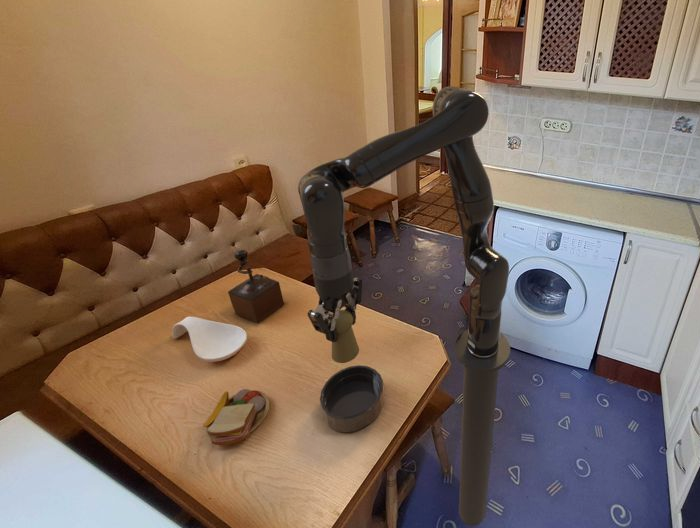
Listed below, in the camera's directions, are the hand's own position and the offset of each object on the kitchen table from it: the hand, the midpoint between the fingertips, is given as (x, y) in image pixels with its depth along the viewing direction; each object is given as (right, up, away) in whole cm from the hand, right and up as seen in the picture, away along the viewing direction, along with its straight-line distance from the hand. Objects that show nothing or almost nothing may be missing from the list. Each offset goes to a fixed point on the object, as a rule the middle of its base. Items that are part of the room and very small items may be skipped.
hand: (342, 331), depth 79 cm
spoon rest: (-46, -12, +22) cm, 52 cm away
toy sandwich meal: (-24, -22, +3) cm, 33 cm away
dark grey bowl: (0, -20, +7) cm, 21 cm away
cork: (0, -6, +3) cm, 7 cm away
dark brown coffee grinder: (-41, -5, +37) cm, 56 cm away
